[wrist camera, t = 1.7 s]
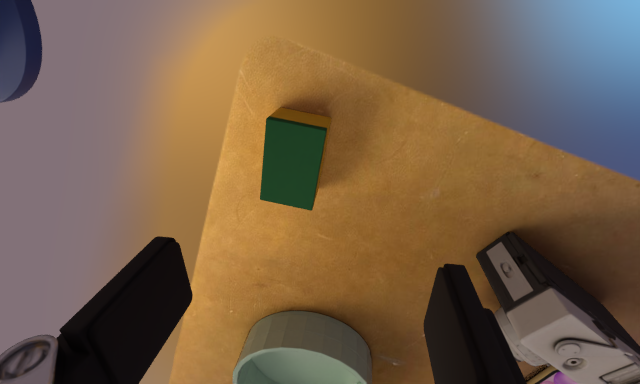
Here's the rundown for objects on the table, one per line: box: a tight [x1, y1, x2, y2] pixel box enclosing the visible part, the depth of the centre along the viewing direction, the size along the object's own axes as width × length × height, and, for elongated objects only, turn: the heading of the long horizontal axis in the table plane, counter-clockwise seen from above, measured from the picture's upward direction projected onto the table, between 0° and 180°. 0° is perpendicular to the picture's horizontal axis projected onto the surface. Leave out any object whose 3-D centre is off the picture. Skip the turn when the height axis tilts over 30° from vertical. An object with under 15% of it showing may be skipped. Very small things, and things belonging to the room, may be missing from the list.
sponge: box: [260, 107, 331, 210], centre depth 25 cm, size 4×7×4 cm, turn 170°
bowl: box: [233, 311, 372, 384], centre depth 38 cm, size 17×17×5 cm
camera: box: [476, 232, 640, 384], centre depth 26 cm, size 14×8×10 cm, turn 53°
